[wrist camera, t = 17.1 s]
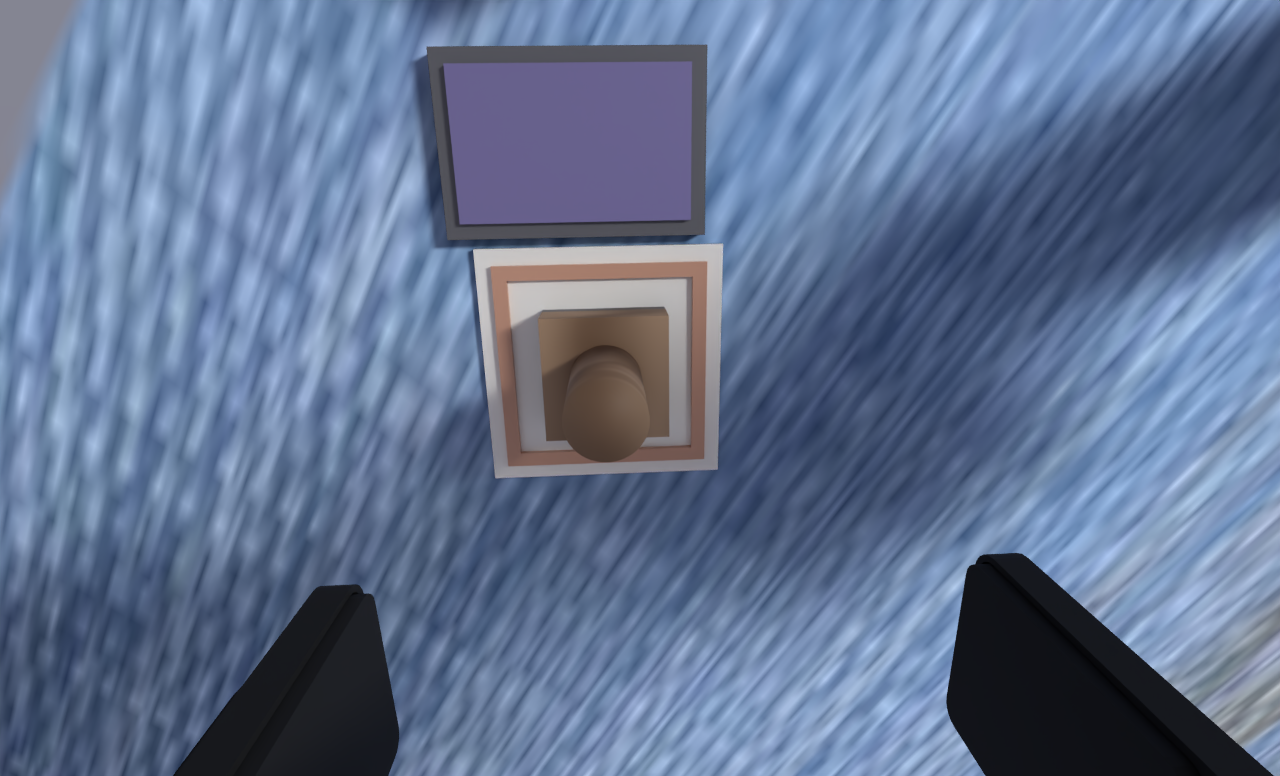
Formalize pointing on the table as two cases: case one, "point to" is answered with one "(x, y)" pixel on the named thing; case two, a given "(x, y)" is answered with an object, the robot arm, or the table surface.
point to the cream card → (587, 280)
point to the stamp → (605, 378)
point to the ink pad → (570, 140)
